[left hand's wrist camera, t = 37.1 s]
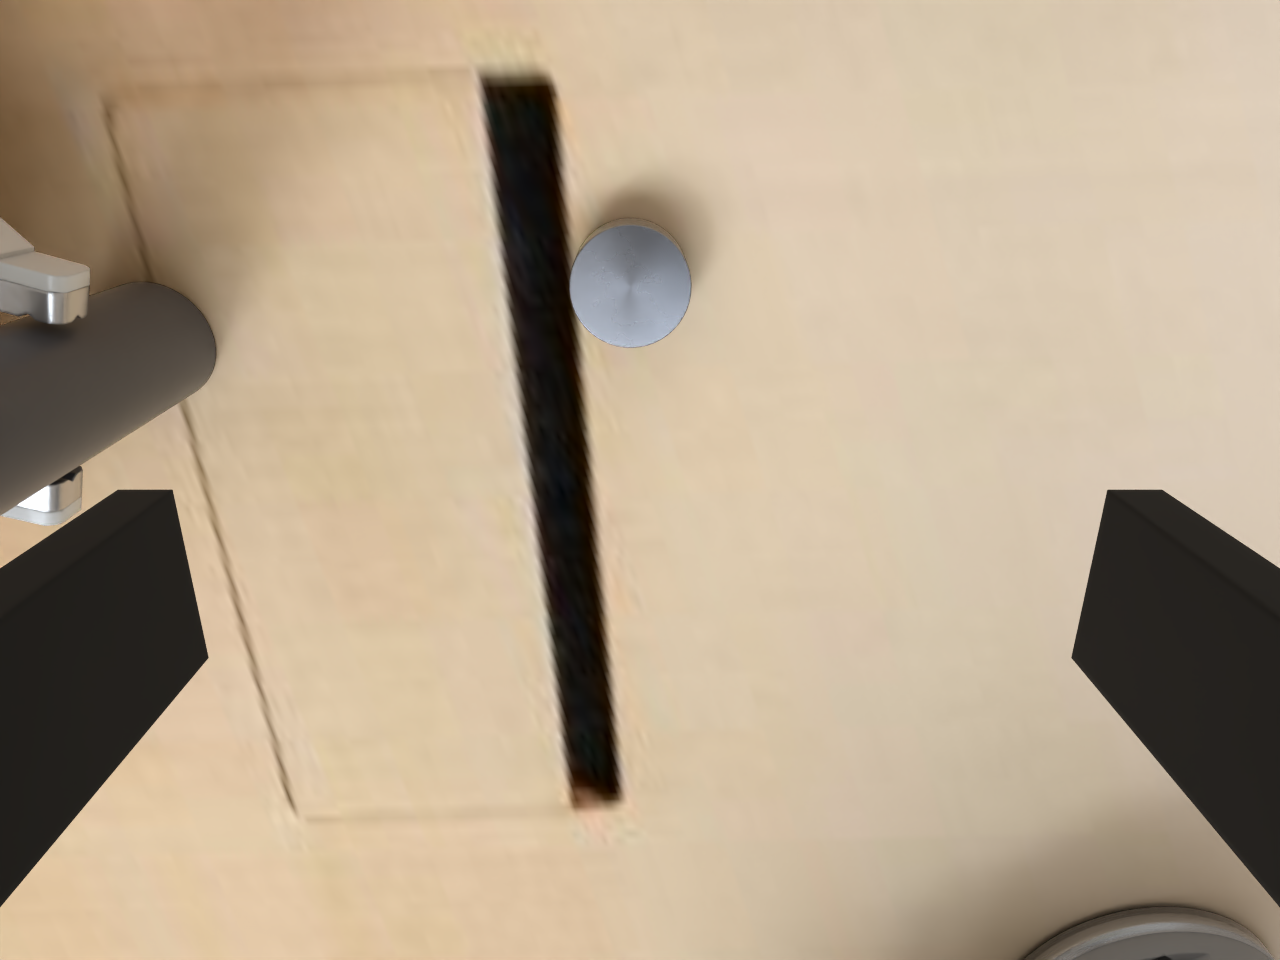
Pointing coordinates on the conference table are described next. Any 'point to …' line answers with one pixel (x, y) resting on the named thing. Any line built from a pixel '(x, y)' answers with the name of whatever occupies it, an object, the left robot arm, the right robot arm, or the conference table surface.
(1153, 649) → the left robot arm
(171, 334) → the bottle
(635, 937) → the conference table surface
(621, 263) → the cap
